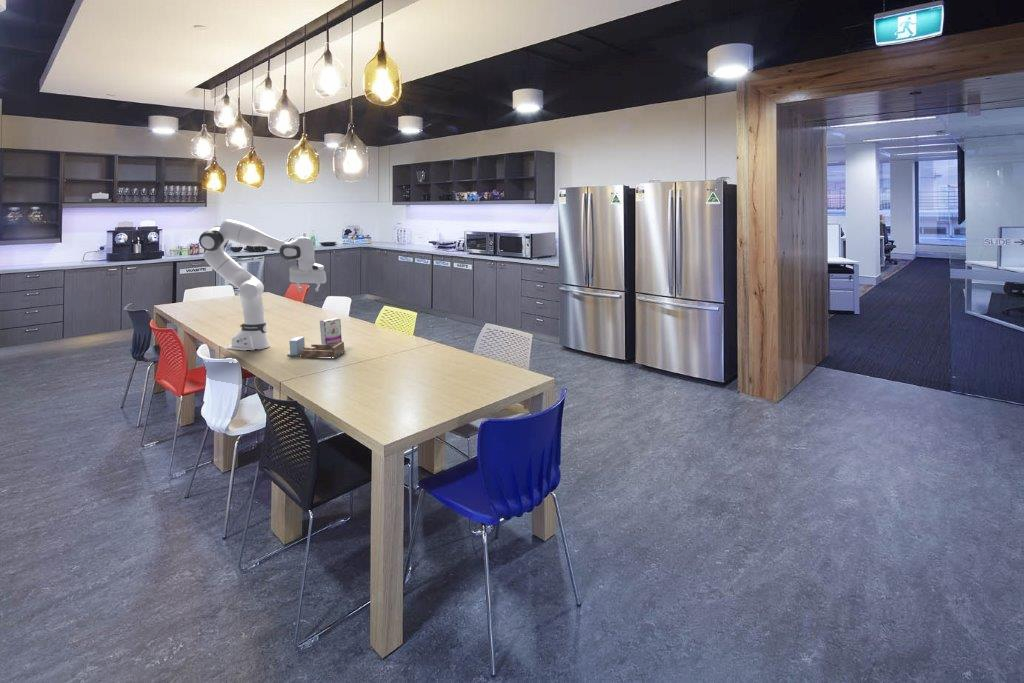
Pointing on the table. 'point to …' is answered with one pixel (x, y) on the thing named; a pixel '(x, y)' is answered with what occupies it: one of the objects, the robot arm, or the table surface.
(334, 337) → the candy bar box
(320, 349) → the tray
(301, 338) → the blue-grey box
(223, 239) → the robot arm
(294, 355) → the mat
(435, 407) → the table surface
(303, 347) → the offcut short
